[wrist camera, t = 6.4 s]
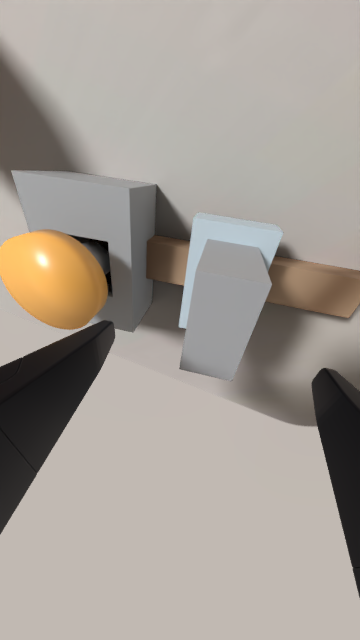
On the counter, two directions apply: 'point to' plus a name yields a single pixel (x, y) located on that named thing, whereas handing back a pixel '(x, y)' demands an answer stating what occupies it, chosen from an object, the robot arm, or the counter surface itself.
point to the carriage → (224, 291)
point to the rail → (285, 274)
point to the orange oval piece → (56, 277)
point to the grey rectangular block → (99, 229)
